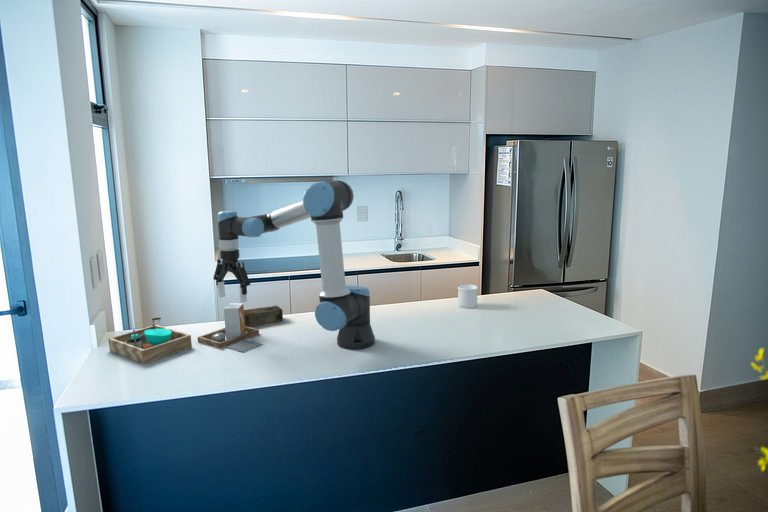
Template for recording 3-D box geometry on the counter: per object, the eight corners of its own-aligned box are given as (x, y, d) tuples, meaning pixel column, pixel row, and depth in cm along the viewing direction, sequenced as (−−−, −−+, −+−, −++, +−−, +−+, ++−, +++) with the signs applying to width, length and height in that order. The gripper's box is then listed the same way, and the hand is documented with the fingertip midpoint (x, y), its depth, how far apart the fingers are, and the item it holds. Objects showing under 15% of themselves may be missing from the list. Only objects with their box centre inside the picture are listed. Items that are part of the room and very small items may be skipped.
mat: (262, 344, 208) (262, 343, 208) (242, 352, 200) (242, 351, 200) (245, 340, 214) (245, 339, 214) (225, 347, 206) (225, 346, 206)
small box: (241, 338, 216) (239, 308, 213) (225, 339, 216) (223, 308, 213) (245, 332, 224) (243, 302, 221) (230, 332, 224) (228, 303, 221)
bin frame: (259, 334, 221) (258, 329, 221) (220, 348, 205) (219, 343, 205) (237, 328, 229) (236, 323, 229) (197, 341, 213) (197, 337, 212)
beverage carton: (283, 322, 237) (283, 308, 236) (241, 329, 228) (240, 314, 227) (278, 317, 244) (277, 303, 243) (237, 324, 235) (236, 310, 234)
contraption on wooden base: (125, 346, 208) (121, 310, 205) (173, 339, 216) (170, 303, 213) (126, 359, 196) (122, 320, 193) (177, 350, 204) (174, 313, 201)
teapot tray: (191, 347, 207) (190, 335, 206) (144, 363, 191) (142, 350, 190) (156, 335, 221) (155, 324, 220) (109, 350, 205) (108, 338, 204)
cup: (457, 308, 253) (457, 289, 251) (458, 302, 263) (458, 284, 261) (477, 309, 252) (477, 289, 250) (477, 303, 261) (477, 284, 259)
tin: (228, 341, 214) (227, 334, 213) (217, 344, 210) (217, 337, 209) (220, 338, 216) (219, 331, 216) (210, 342, 212) (209, 335, 212)
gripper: (257, 250, 209) (260, 302, 213) (217, 244, 223) (220, 292, 227) (242, 253, 203) (245, 306, 207) (202, 247, 217) (206, 296, 221)
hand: (232, 299), depth 217 cm, fingers open, 13 cm apart
